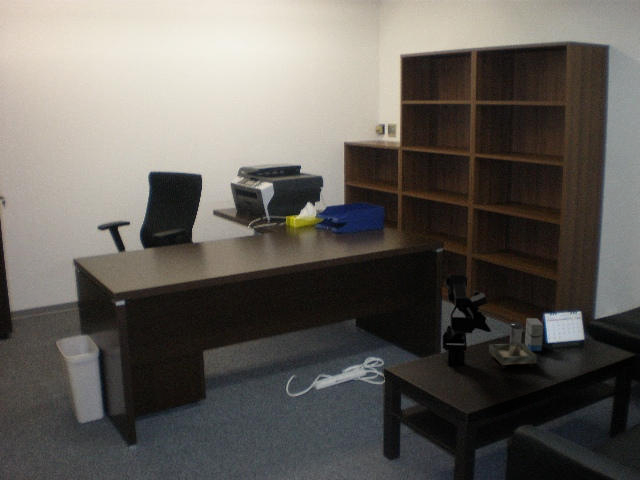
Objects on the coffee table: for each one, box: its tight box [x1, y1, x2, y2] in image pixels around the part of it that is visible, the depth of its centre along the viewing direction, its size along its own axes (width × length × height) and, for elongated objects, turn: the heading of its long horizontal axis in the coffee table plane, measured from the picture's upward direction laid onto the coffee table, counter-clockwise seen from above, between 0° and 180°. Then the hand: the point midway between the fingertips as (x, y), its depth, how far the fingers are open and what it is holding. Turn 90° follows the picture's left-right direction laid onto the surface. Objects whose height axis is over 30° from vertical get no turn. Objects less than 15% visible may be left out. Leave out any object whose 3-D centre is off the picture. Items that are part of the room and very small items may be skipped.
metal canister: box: [508, 321, 524, 357], centre depth 261 cm, size 5×5×13 cm
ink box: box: [524, 317, 544, 352], centre depth 277 cm, size 8×5×12 cm, turn 179°
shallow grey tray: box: [488, 342, 537, 369], centre depth 262 cm, size 14×14×5 cm
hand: (487, 326), depth 264 cm, fingers open, 9 cm apart
